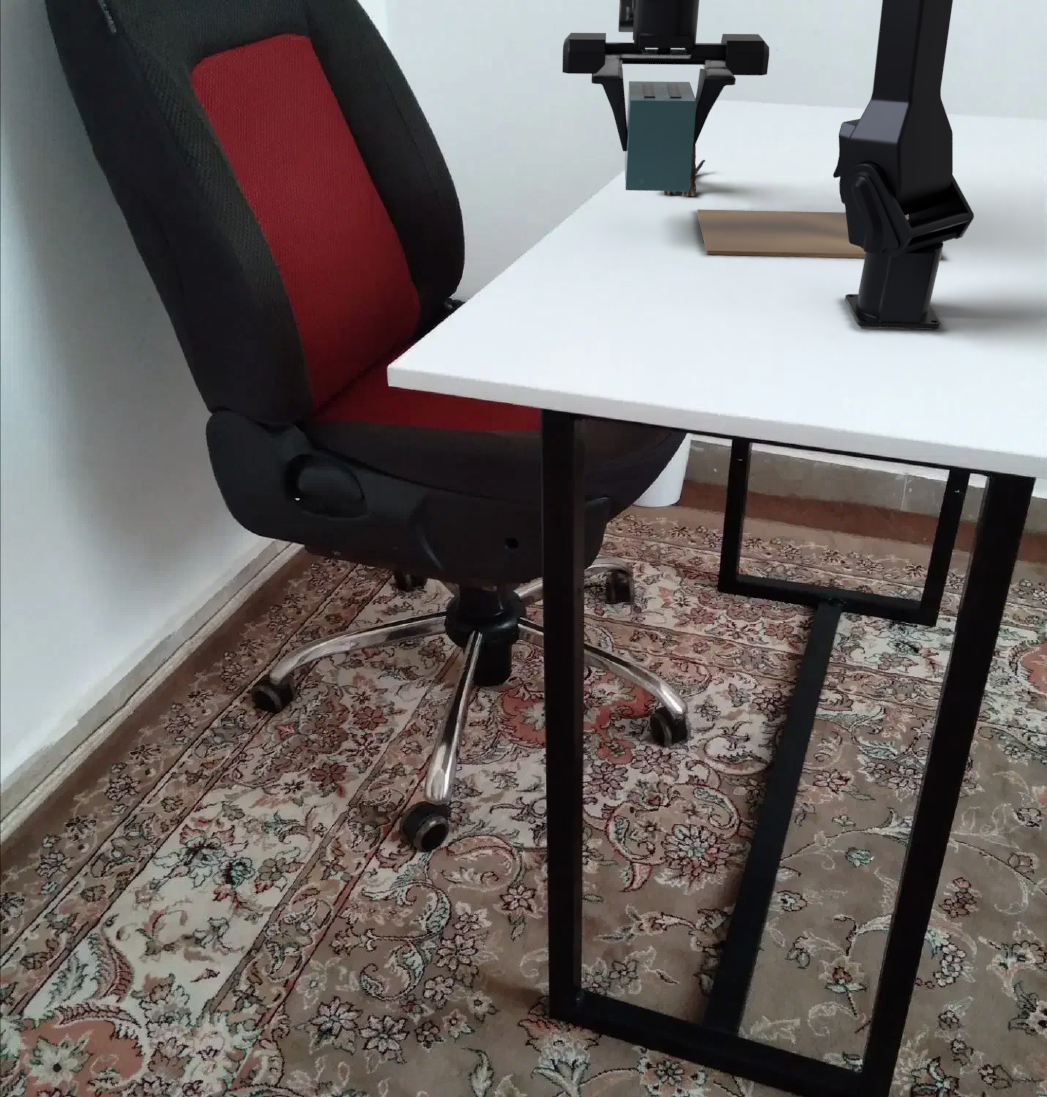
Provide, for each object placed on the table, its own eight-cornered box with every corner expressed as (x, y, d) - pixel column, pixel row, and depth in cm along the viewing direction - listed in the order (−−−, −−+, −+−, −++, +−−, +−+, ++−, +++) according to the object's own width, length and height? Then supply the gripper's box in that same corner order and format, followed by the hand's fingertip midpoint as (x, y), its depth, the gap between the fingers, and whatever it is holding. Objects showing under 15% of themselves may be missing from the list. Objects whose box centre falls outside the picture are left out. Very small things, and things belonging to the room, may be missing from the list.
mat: (941, 259, 98) (941, 255, 97) (706, 254, 99) (707, 250, 99) (906, 217, 109) (906, 213, 109) (696, 213, 111) (697, 209, 110)
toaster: (689, 191, 98) (696, 99, 93) (625, 190, 98) (630, 98, 94) (682, 163, 107) (689, 78, 103) (624, 162, 107) (628, 77, 103)
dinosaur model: (668, 84, 108) (691, 70, 120) (653, 200, 114) (677, 175, 126) (706, 88, 107) (726, 74, 119) (689, 204, 113) (709, 179, 125)
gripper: (764, -39, 98) (745, 134, 107) (568, -40, 99) (565, 131, 108) (780, -29, 89) (757, 159, 98) (563, -30, 90) (560, 157, 99)
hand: (657, 150), depth 101 cm, fingers closed on toaster, 6 cm apart
